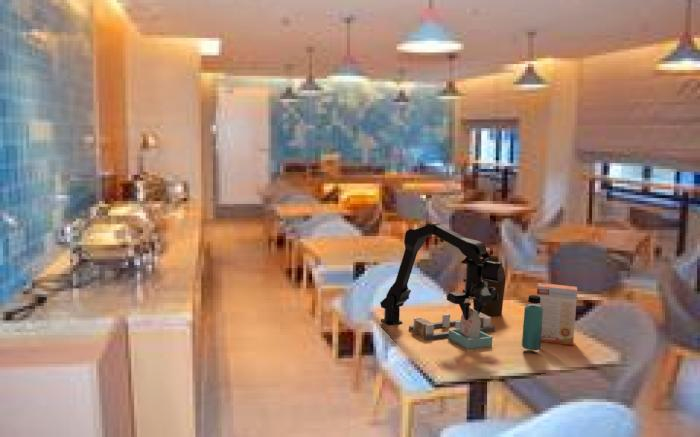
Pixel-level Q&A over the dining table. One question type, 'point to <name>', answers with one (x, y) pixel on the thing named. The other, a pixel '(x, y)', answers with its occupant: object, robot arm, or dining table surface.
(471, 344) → the teal tray
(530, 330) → the beverage bottle
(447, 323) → the clip holder
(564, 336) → the cracker box
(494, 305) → the olive oil
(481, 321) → the walnut block
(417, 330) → the walnut block
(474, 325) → the tea bag
